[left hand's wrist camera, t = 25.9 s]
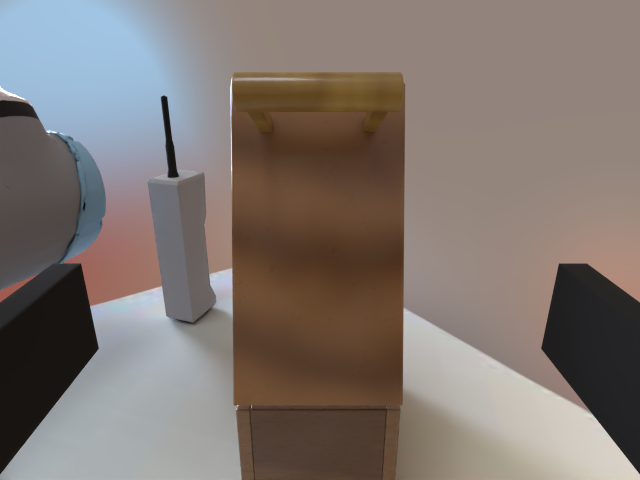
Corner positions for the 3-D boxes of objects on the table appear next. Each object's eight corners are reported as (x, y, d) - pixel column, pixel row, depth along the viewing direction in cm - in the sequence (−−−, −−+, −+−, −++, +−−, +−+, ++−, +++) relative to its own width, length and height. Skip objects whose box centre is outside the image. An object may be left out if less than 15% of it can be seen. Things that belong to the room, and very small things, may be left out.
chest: (271, 368, 45) (267, 278, 41) (365, 368, 45) (369, 278, 41) (246, 533, 29) (235, 410, 25) (390, 533, 29) (400, 409, 25)
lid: (233, 87, 25) (193, 25, 17) (402, 87, 25) (441, 26, 17) (236, 399, 26) (199, 480, 18) (399, 398, 26) (435, 479, 18)
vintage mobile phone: (216, 304, 56) (197, 94, 47) (193, 324, 52) (166, 96, 43) (191, 299, 57) (167, 93, 49) (166, 318, 53) (135, 96, 44)
